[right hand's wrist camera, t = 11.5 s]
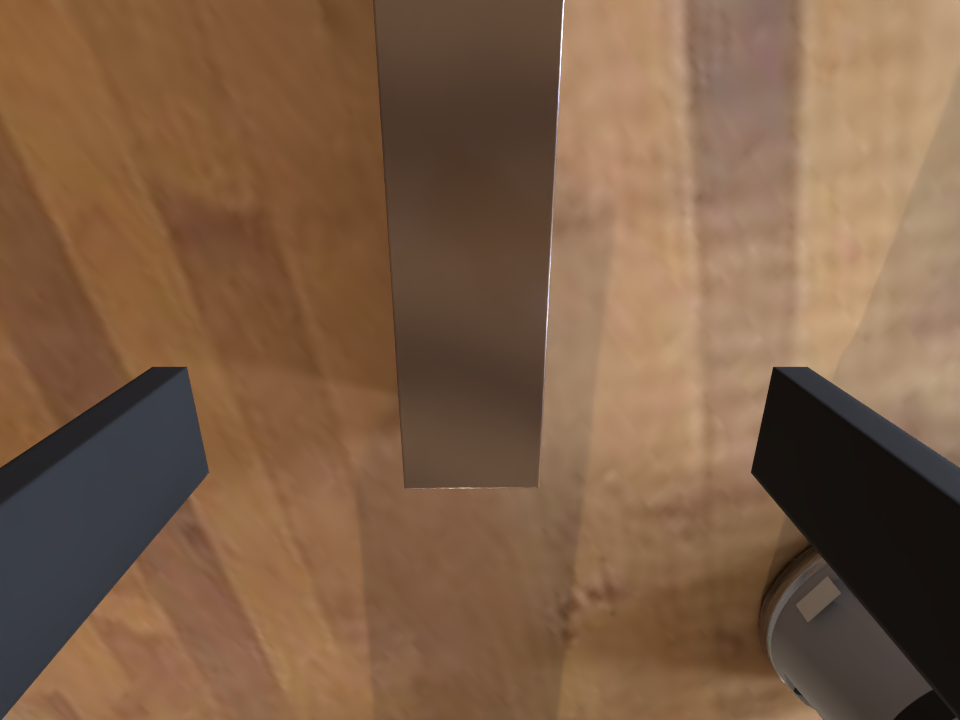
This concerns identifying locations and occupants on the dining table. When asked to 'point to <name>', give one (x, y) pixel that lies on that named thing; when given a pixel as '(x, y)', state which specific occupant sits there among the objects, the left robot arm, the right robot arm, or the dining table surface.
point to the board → (470, 230)
